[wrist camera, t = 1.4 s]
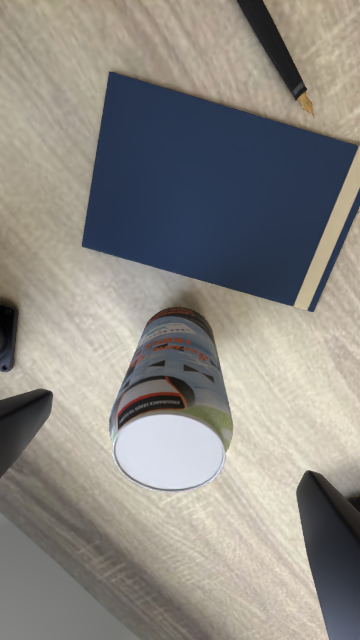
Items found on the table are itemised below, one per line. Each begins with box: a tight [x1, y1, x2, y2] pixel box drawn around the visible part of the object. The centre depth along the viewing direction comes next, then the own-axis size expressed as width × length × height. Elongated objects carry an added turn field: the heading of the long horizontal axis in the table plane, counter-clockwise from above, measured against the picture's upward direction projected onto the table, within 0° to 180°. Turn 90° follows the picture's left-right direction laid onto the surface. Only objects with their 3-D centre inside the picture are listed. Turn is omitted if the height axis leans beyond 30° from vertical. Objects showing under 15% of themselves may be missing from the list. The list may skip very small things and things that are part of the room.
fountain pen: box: [237, 0, 314, 116], centre depth 15 cm, size 14×1×2 cm, turn 37°
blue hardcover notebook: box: [82, 71, 360, 312], centre depth 18 cm, size 12×20×1 cm, turn 75°
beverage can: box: [109, 307, 233, 492], centre depth 15 cm, size 6×7×12 cm
